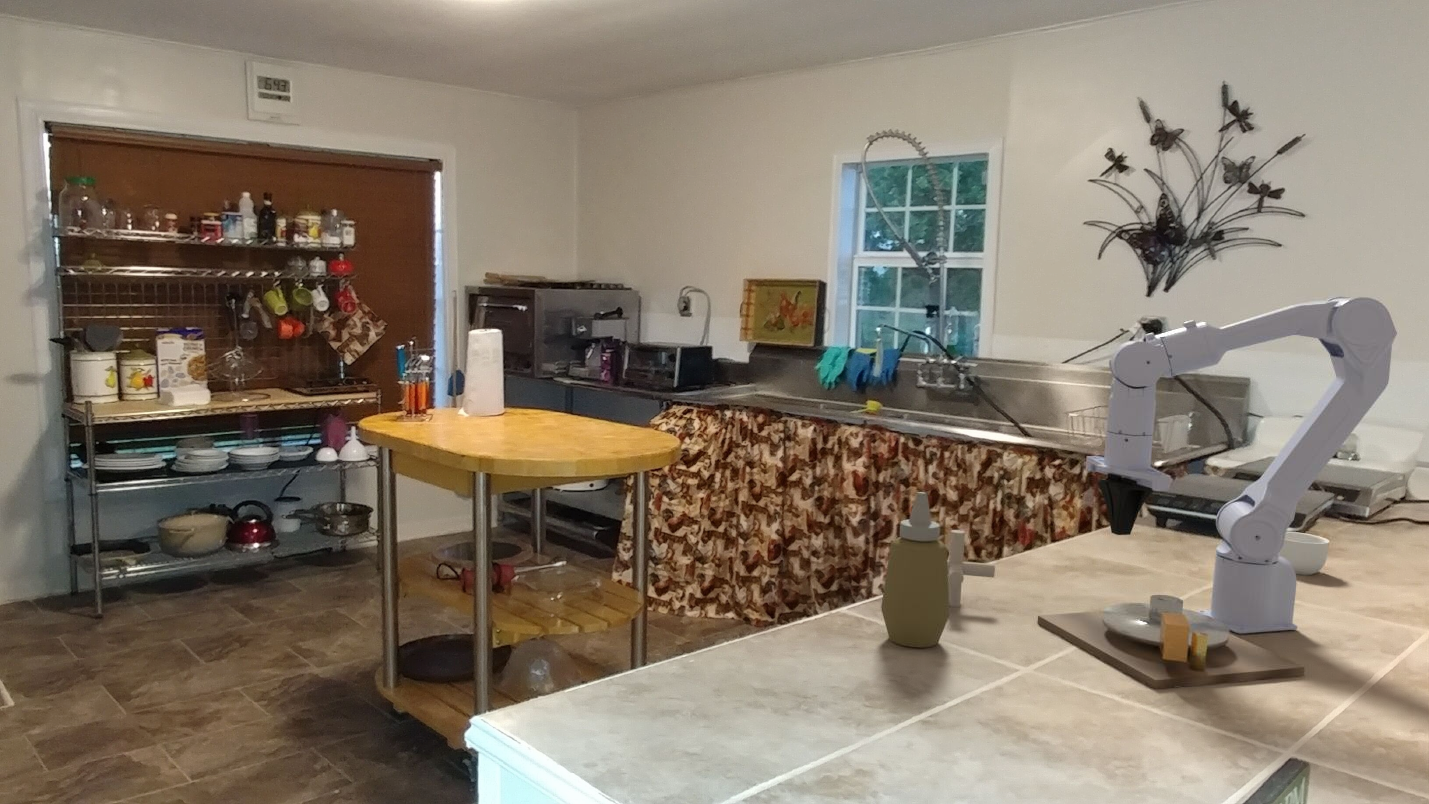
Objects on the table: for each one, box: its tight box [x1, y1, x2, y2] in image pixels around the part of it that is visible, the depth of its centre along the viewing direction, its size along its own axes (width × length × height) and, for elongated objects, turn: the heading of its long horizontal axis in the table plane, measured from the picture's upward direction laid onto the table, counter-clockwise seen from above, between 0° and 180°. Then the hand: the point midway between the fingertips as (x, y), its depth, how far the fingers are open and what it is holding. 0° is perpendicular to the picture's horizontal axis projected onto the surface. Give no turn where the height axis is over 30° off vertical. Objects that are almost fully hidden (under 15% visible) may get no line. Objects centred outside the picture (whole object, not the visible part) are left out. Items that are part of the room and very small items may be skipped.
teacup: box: [1277, 531, 1330, 576], centre depth 164 cm, size 10×8×5 cm
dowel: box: [1189, 632, 1208, 672], centre depth 116 cm, size 2×2×4 cm
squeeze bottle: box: [880, 491, 950, 649], centre depth 124 cm, size 8×8×18 cm
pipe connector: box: [947, 529, 996, 608], centre depth 139 cm, size 10×10×10 cm
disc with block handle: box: [1102, 594, 1231, 662], centre depth 123 cm, size 18×14×4 cm
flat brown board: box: [1037, 610, 1305, 690], centre depth 125 cm, size 20×22×2 cm
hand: (1120, 533), depth 139 cm, fingers closed
